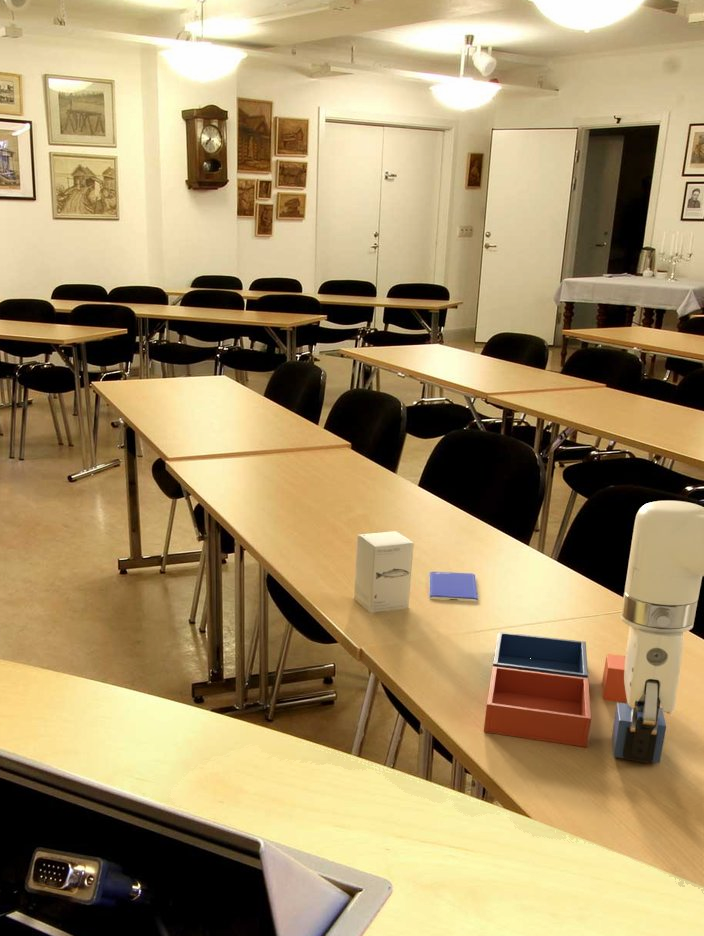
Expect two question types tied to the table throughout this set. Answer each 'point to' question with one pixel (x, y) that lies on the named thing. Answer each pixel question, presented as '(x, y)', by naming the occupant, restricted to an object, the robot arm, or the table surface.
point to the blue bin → (541, 654)
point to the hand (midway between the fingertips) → (635, 747)
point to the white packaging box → (383, 571)
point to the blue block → (623, 723)
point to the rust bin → (538, 706)
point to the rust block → (614, 678)
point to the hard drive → (452, 586)
